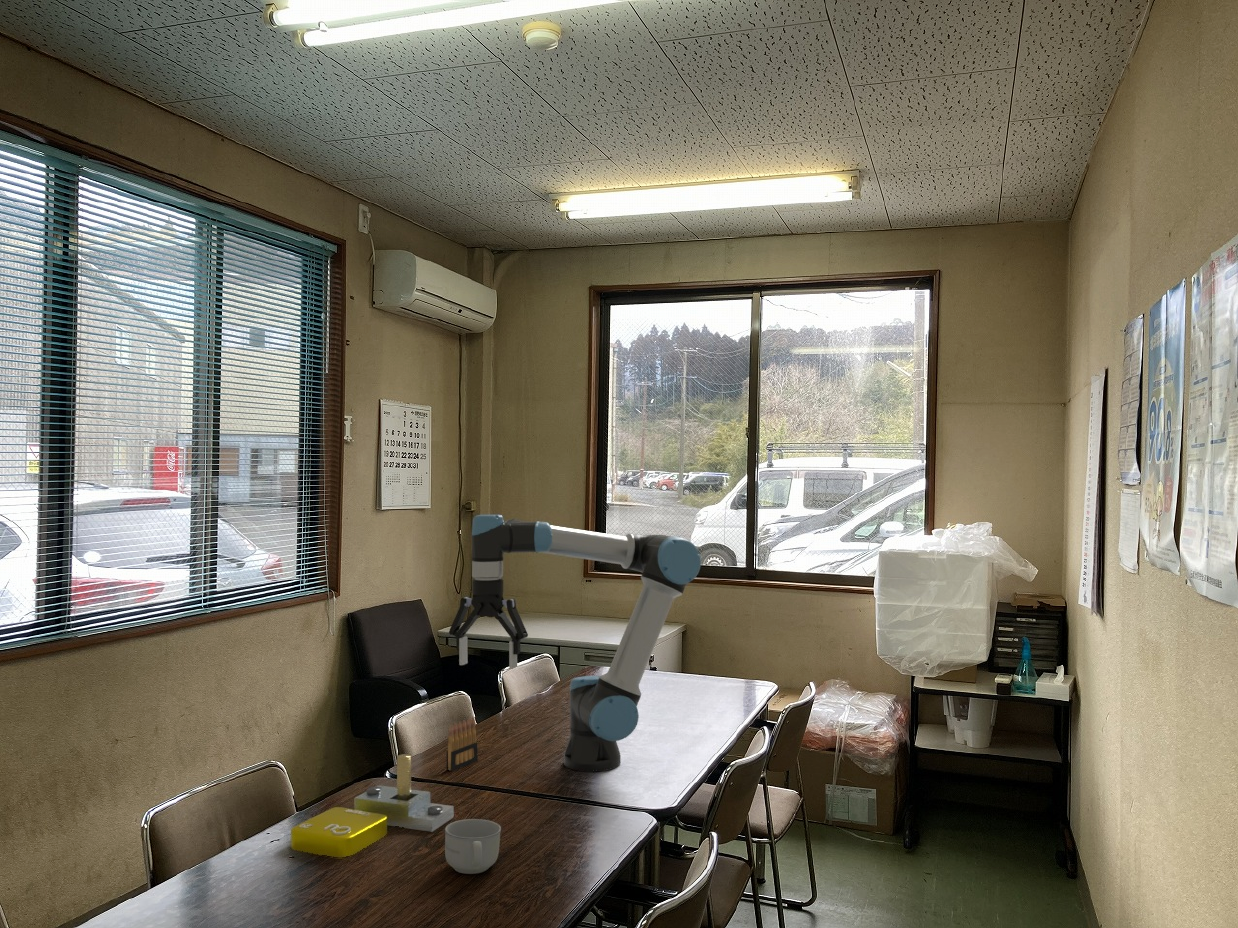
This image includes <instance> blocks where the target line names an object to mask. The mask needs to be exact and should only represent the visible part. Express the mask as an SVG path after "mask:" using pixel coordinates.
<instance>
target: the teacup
mask: <svg viewBox="0 0 1238 928" xmlns="http://www.w3.org/2000/svg"><path fill="white" fill-rule="evenodd" d="M501 831H502V827H501V825H500V824H499V823H497V822H496V821H495V822H494V821H492V820H489V819H481V818H468V819H467V818H464V819H459V820H456V821H453V822H451V823H449V824H447V825H446V826H445V827H444V832H445V837H444V838H445V839H444V857H445V860H446V862H447V863H448V865H449V866H451V868H452V869H454V870H455V871H456V872H458V873H460V874H465V875H474V874H475V875H477V874H481V873H484V872H486V871H487V870H489V868H490V867H492V866H493V865H494V864H495V863H496V862H497V859H498V857H499V851H500V842H501V841H500V840H501Z"/></svg>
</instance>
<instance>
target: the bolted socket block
mask: <svg viewBox="0 0 1238 928" xmlns="http://www.w3.org/2000/svg"><path fill="white" fill-rule="evenodd" d="M353 800H354V803H353V805H354V810H359V811H365V812H371V813H377V814H383V815H386V816H387V827H388V826H391V827H395V826H399V827H398V828H402V827H404V828H403V829H410V830H418V831H422V832H423V831H424V832H431V833H433V832H434V831H436V830H437V829H439V828H440V827H442V826H443V825H445V824H446V823H448V822H449V821H451V820H452V819H453V818H454V811H455V809H454V805H450V804H449V805H448V804H440V803H433V802H431V791H426V790H425V791H424V790H417V789H411V799H410V800H408V801H403V800H397V786H396V787H395V786H389V785H388V786H387V785H381V784H380V785H379V784H377V785H376V786H371V787H368V788H366V791H365V792H363V793H361V794H360V795H358V796H355V797H354V799H353Z"/></svg>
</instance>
